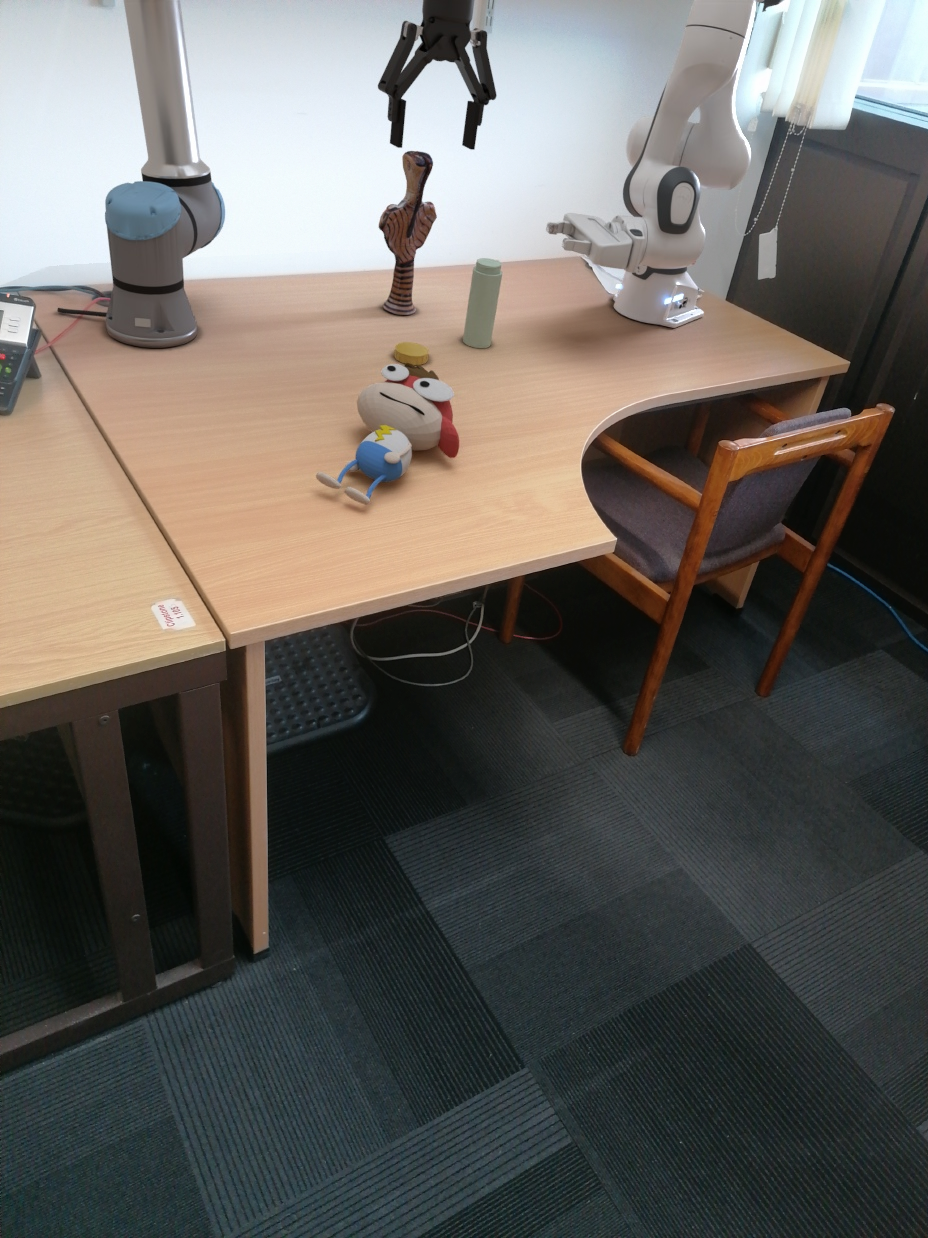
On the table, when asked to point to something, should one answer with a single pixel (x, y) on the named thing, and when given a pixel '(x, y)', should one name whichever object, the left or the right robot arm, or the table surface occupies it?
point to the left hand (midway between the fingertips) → (432, 146)
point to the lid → (411, 353)
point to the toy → (399, 425)
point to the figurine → (407, 230)
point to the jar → (482, 303)
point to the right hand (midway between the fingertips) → (555, 235)
